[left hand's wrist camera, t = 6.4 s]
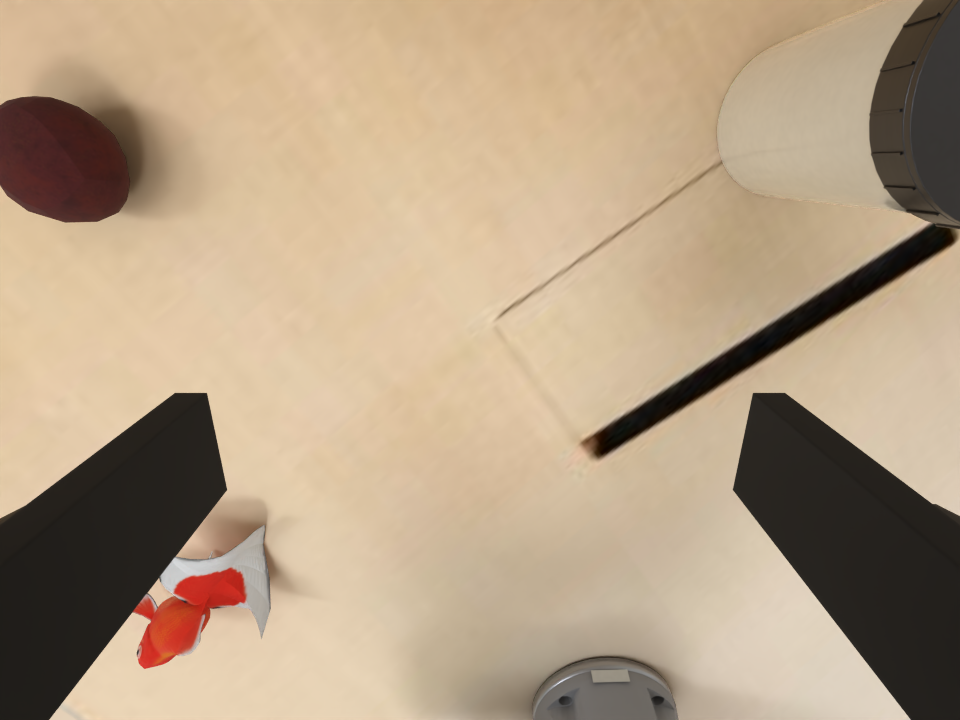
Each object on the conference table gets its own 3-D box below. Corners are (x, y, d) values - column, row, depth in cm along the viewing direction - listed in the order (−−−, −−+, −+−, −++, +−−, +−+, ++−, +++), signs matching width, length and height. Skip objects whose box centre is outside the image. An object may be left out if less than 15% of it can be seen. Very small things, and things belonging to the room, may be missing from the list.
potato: (91, 80, 34) (0, 60, 28) (176, 181, 37) (110, 186, 30) (20, 146, 36) (-84, 142, 29) (105, 240, 38) (27, 256, 32)
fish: (68, 588, 44) (56, 689, 37) (226, 469, 48) (246, 538, 40) (162, 635, 51) (168, 728, 43) (295, 527, 54) (323, 596, 47)
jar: (688, 158, 36) (855, 154, 20) (775, 7, 33) (1057, -143, 17) (802, 221, 38) (1042, 263, 22) (896, 82, 35) (1261, 12, 18)
